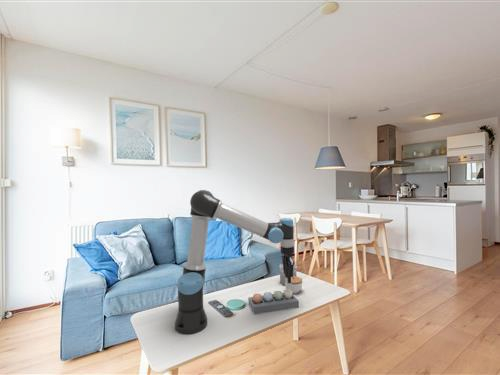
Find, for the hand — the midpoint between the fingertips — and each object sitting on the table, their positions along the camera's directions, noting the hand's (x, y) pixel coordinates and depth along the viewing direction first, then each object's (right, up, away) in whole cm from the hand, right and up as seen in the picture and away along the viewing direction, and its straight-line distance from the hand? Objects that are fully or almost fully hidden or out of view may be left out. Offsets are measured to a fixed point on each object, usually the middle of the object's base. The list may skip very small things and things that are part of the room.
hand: (288, 288), depth 142 cm
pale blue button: (-12, -6, -3) cm, 13 cm away
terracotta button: (-18, -6, -4) cm, 19 cm away
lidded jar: (+5, -8, +15) cm, 18 cm away
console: (-9, -9, -2) cm, 13 cm away
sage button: (-6, -5, -1) cm, 8 cm away
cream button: (0, -5, 0) cm, 5 cm away
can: (+4, -8, +28) cm, 29 cm away
